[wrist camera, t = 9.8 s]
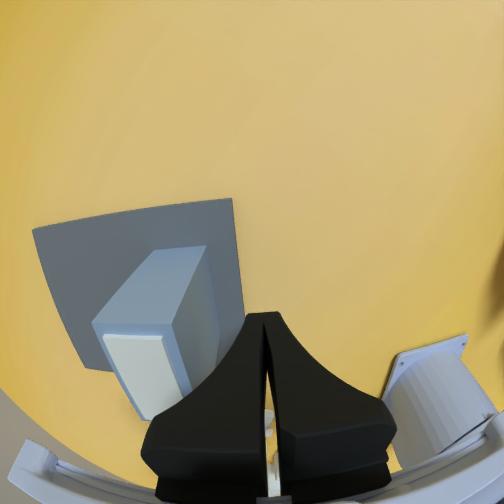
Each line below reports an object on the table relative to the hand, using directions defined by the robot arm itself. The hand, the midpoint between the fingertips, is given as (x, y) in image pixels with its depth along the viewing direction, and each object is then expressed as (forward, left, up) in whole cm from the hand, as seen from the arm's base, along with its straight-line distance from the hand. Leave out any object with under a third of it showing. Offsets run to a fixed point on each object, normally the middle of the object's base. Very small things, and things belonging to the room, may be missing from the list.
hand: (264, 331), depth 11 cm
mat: (-1, +8, -4) cm, 9 cm away
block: (0, +4, -4) cm, 6 cm away
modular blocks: (-21, +1, -5) cm, 21 cm away
